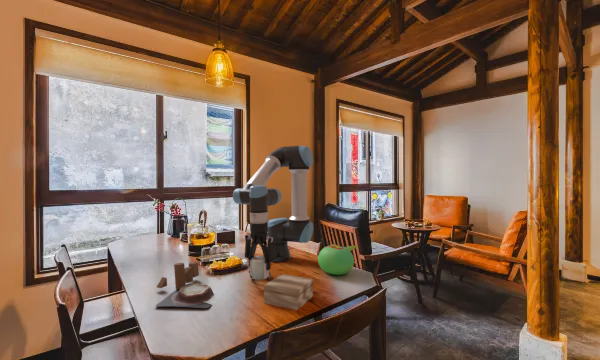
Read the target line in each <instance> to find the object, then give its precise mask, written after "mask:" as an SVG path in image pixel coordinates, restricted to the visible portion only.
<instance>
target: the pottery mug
mask: <svg viewBox="0 0 600 360" xmlns="http://www.w3.org/2000/svg"><path fill="white" fill-rule="evenodd" d="M248 273H249V278H250V279H253V278H252V276H251V275H250V269H249V270H248ZM267 279H268V281H272V274H271V271H270V270H269V277H268V278H267Z"/></svg>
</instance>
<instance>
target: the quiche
mask: <svg viewBox="0 0 600 360" xmlns="http://www.w3.org/2000/svg"><path fill="white" fill-rule="evenodd" d="M175 289H176V288H175ZM214 295H215V293H214V291H213V289H212V287H211V286H209V284H208V285H207V284H206V283H204V284H203V283H202V284H201V283H193V284H186V286H183V287H181V289H176V290H173V292H171V293H170V294H169V295H167V296H166V297H164V298H163V299H162V300H161V301H160V302H158V303H157V304H156V305H155V307H178V308H179V307H180V308H181V307H182V308H184V307H185V308H196V309H198V308H199V309H208V308H210V307H211V306H212V303H208V302H207V301H209V300H211V298H212V297H213V296H214Z"/></svg>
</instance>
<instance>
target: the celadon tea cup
mask: <svg viewBox="0 0 600 360" xmlns="http://www.w3.org/2000/svg"><path fill="white" fill-rule="evenodd" d="M264 263H265V258H264V255H256V256H255V255H254V257H252V278H251V279H254V280H259V281H260V280H265V278H264Z"/></svg>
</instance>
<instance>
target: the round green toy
mask: <svg viewBox="0 0 600 360" xmlns="http://www.w3.org/2000/svg"><path fill="white" fill-rule="evenodd" d="M357 248H358V245H355V244H354V245H349V246H343V245H336V244H335V243H332V244H330V245H327V246H324V247H323V248H322V249H321V250H320V251H319V253H318V256H317V261H318V265H319V267H320V268H321V269H322V270H323V272H326V273H327V274H331V275H333V276H340V275H341V276H342V275H345V274H348V273H349V272H350V271H351V270H352V269H353V267H354V265H355V264H354V263H355V258H354V255H353V253H352V251H353V250H355V249H357Z"/></svg>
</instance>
